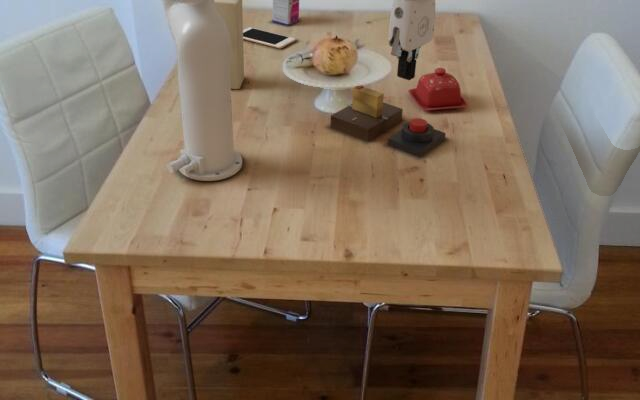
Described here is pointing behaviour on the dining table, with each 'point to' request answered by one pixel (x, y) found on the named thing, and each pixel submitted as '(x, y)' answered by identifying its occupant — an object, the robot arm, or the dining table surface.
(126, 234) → the dining table surface
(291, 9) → the supplement box
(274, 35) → the cell phone
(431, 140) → the alarm box
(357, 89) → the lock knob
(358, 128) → the plate
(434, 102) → the butter dish
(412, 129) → the alarm button
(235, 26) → the toy refrigerator
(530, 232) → the dining table surface
